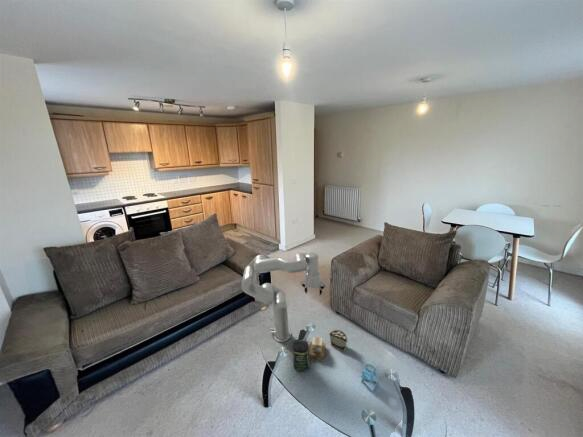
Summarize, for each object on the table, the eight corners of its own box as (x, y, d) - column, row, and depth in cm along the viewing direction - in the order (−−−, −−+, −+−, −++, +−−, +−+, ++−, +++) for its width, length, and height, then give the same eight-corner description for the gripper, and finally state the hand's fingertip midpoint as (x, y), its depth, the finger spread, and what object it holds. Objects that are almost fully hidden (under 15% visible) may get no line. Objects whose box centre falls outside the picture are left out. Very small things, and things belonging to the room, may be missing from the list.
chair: (364, 374, 141) (364, 359, 137) (378, 382, 136) (379, 366, 132) (358, 384, 136) (359, 369, 132) (373, 393, 131) (373, 377, 127)
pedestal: (308, 359, 154) (308, 354, 152) (310, 346, 163) (310, 341, 161) (324, 361, 152) (324, 356, 150) (325, 348, 161) (325, 343, 159)
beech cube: (312, 351, 154) (311, 344, 152) (313, 343, 160) (313, 336, 158) (321, 352, 153) (321, 345, 151) (322, 345, 158) (322, 338, 156)
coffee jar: (292, 371, 146) (291, 347, 140) (294, 359, 153) (293, 336, 147) (308, 372, 144) (307, 349, 138) (309, 361, 152) (308, 338, 146)
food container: (349, 345, 161) (350, 333, 158) (346, 352, 156) (347, 340, 153) (332, 338, 167) (332, 326, 164) (329, 344, 163) (329, 333, 159)
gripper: (298, 273, 156) (299, 295, 162) (325, 275, 152) (325, 298, 157) (301, 267, 163) (302, 288, 169) (326, 269, 159) (326, 291, 164)
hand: (313, 293), depth 163 cm, fingers open, 9 cm apart
